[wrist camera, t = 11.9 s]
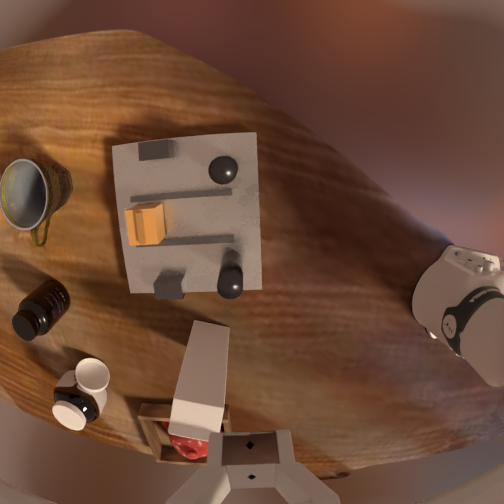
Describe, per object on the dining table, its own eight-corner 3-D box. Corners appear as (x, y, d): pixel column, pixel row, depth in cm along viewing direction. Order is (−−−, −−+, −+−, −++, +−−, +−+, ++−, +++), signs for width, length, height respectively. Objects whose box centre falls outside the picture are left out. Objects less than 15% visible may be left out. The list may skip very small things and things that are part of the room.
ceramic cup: (31, 164, 41) (-6, 169, 32) (76, 147, 41) (41, 149, 32) (46, 237, 45) (12, 255, 36) (91, 227, 45) (60, 245, 36)
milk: (194, 319, 50) (167, 416, 29) (230, 326, 51) (223, 427, 30) (189, 348, 52) (165, 446, 31) (223, 355, 53) (214, 456, 31)
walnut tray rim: (228, 405, 56) (228, 419, 53) (235, 452, 62) (234, 465, 58) (141, 402, 56) (137, 415, 52) (159, 449, 61) (157, 462, 57)
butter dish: (207, 405, 57) (203, 436, 49) (231, 437, 60) (230, 467, 52) (159, 415, 58) (151, 445, 50) (185, 446, 61) (181, 474, 53)
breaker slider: (162, 203, 41) (153, 209, 37) (165, 236, 42) (157, 245, 38) (135, 205, 41) (123, 211, 37) (138, 237, 42) (128, 247, 38)
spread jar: (73, 389, 56) (53, 425, 44) (60, 348, 52) (33, 383, 41) (121, 399, 56) (105, 439, 45) (111, 357, 53) (89, 397, 42)
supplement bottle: (54, 316, 50) (22, 350, 38) (36, 285, 48) (0, 314, 36) (77, 307, 49) (45, 342, 38) (60, 273, 47) (22, 303, 36)
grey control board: (255, 133, 42) (259, 125, 30) (260, 281, 48) (266, 320, 37) (119, 146, 42) (81, 145, 30) (136, 285, 48) (109, 322, 37)
